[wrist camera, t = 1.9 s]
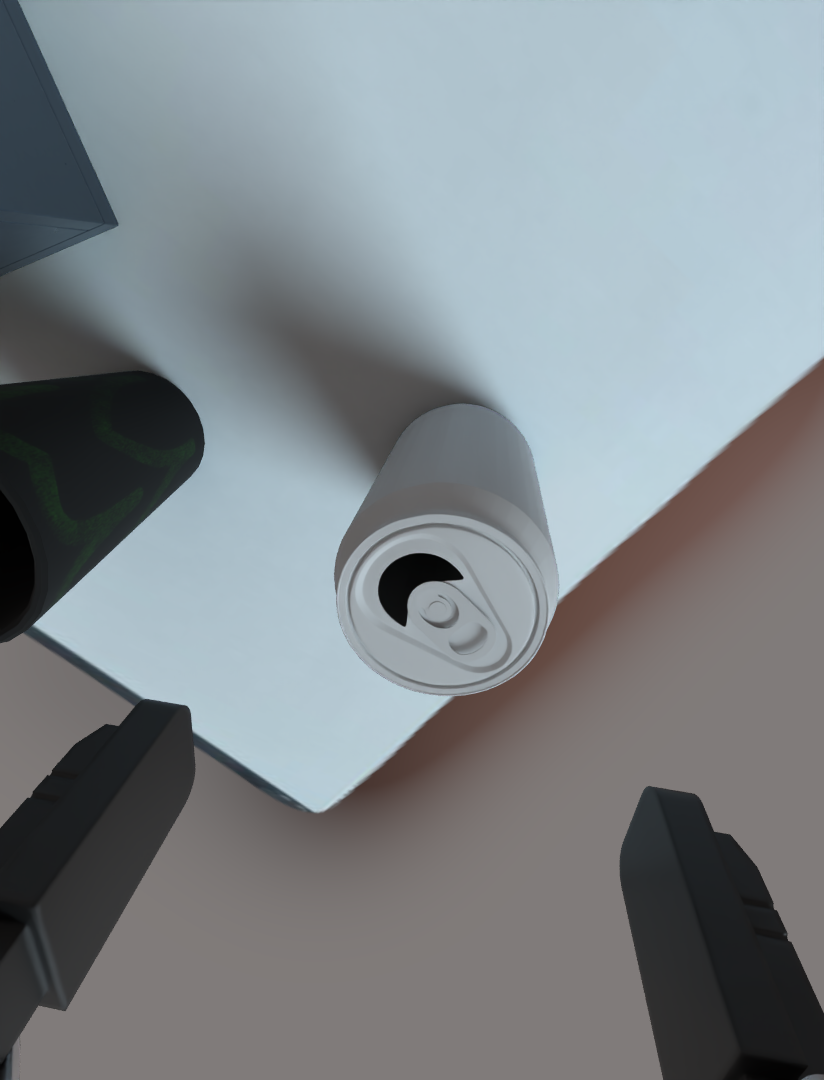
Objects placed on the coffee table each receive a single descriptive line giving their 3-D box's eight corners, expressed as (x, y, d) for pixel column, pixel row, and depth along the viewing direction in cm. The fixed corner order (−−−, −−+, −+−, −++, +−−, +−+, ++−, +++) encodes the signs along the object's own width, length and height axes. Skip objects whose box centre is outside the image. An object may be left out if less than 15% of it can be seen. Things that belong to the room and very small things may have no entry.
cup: (146, 531, 29) (-58, 682, 18) (39, 402, 27) (-265, 488, 16) (258, 460, 27) (99, 586, 16) (151, 311, 24) (-120, 341, 14)
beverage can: (463, 367, 24) (437, 445, 13) (564, 473, 25) (618, 623, 14) (364, 469, 26) (273, 605, 15) (461, 560, 28) (440, 744, 17)
